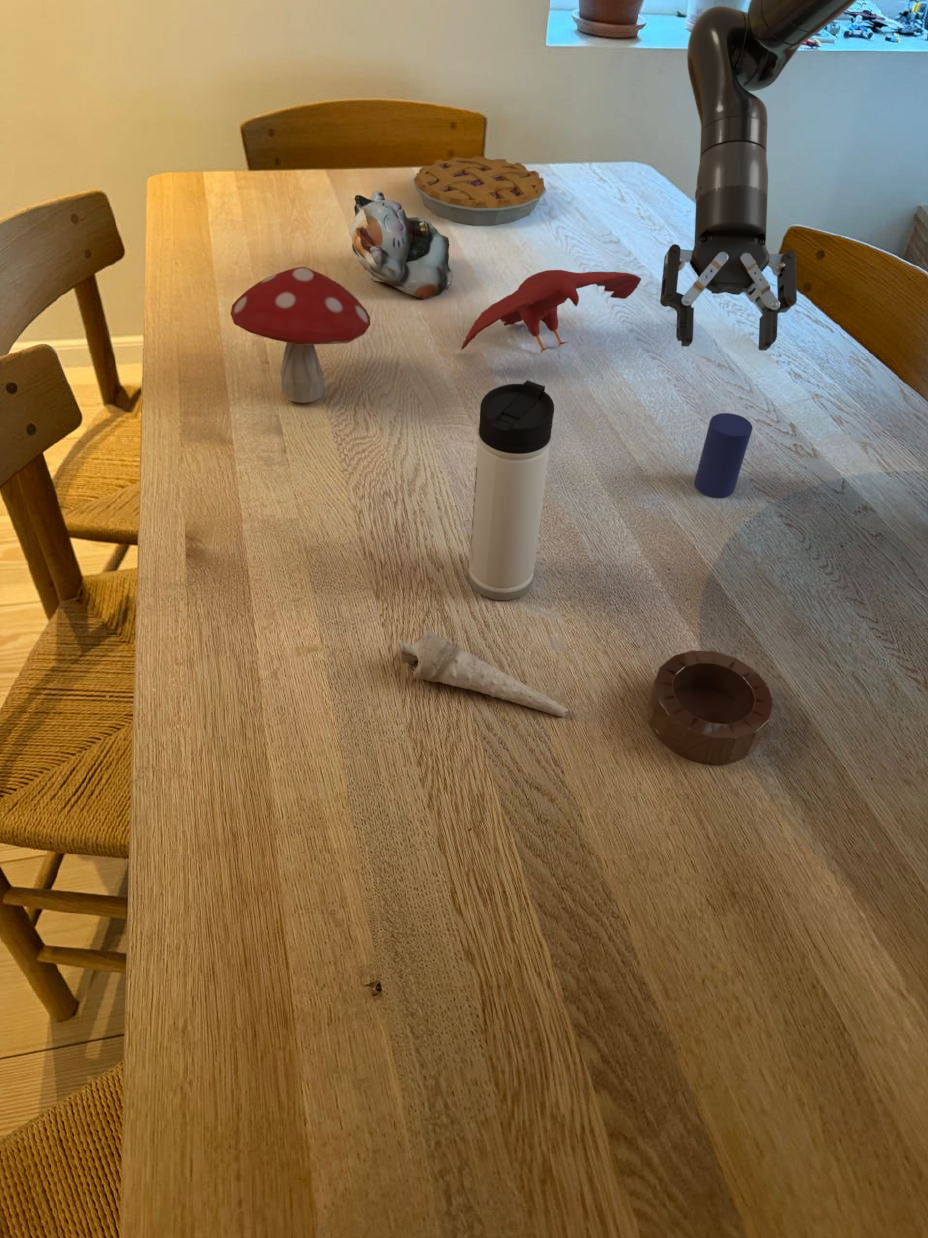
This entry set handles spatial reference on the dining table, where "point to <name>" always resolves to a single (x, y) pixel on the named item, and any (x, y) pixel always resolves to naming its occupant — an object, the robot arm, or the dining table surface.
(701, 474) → the blue cylinder
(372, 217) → the lucky cat figurine
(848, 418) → the dining table surface
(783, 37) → the robot arm
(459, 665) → the seashell
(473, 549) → the travel mug
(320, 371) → the decorative mushroom
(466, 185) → the pie
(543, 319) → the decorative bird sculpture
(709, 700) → the holder
